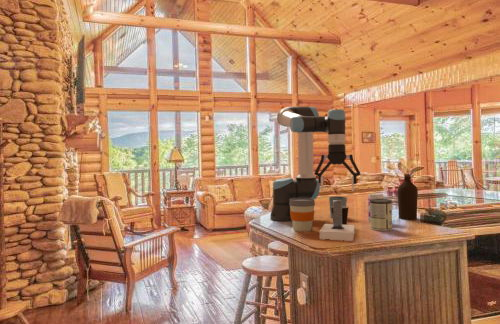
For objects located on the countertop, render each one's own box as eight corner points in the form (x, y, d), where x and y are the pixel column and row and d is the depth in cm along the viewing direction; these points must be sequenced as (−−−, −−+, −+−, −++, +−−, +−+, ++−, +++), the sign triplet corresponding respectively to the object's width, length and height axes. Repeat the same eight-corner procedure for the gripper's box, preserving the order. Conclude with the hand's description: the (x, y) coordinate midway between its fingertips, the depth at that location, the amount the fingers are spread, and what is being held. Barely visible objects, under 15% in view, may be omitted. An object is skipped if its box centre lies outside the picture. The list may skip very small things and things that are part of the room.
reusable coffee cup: (318, 228, 188) (317, 198, 188) (311, 233, 177) (311, 201, 177) (294, 226, 194) (293, 197, 193) (286, 231, 182) (285, 200, 182)
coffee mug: (349, 228, 187) (349, 208, 187) (331, 227, 188) (331, 208, 188) (347, 223, 198) (347, 205, 198) (331, 223, 200) (331, 204, 200)
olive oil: (405, 220, 206) (404, 174, 205) (393, 217, 216) (393, 174, 215) (422, 219, 208) (421, 174, 207) (410, 216, 218) (409, 173, 218)
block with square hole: (324, 231, 181) (324, 223, 181) (354, 232, 177) (354, 225, 176) (319, 239, 164) (319, 231, 164) (352, 240, 159) (352, 232, 159)
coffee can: (370, 226, 191) (370, 198, 190) (392, 227, 187) (391, 199, 187) (369, 230, 181) (369, 201, 181) (392, 231, 178) (392, 201, 177)
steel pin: (333, 234, 173) (333, 199, 172) (342, 235, 171) (342, 200, 171) (332, 236, 169) (332, 201, 169) (342, 236, 168) (341, 201, 167)
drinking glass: (328, 218, 215) (328, 197, 214) (330, 216, 224) (329, 196, 224) (346, 219, 212) (346, 198, 211) (347, 216, 221) (347, 196, 221)
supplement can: (367, 222, 201) (367, 194, 200) (369, 220, 208) (368, 193, 208) (384, 223, 198) (383, 195, 197) (384, 220, 205) (384, 193, 205)
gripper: (307, 144, 170) (308, 191, 170) (365, 143, 162) (365, 192, 162) (310, 144, 177) (311, 189, 177) (365, 143, 169) (366, 190, 170)
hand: (337, 190), depth 170 cm, fingers open, 13 cm apart
